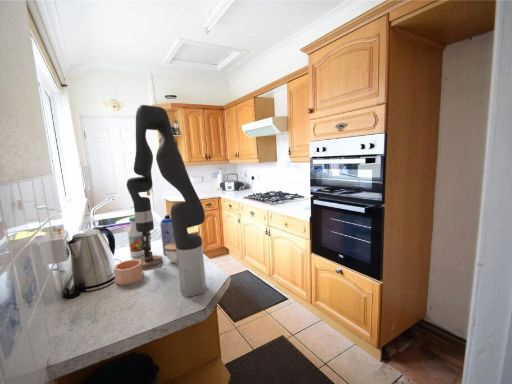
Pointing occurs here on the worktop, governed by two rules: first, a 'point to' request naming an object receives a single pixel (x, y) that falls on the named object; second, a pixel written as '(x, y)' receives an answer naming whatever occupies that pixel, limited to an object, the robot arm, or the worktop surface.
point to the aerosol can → (166, 232)
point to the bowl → (128, 271)
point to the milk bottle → (135, 239)
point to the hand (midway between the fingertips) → (148, 253)
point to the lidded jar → (171, 252)
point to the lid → (150, 261)
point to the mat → (155, 266)
